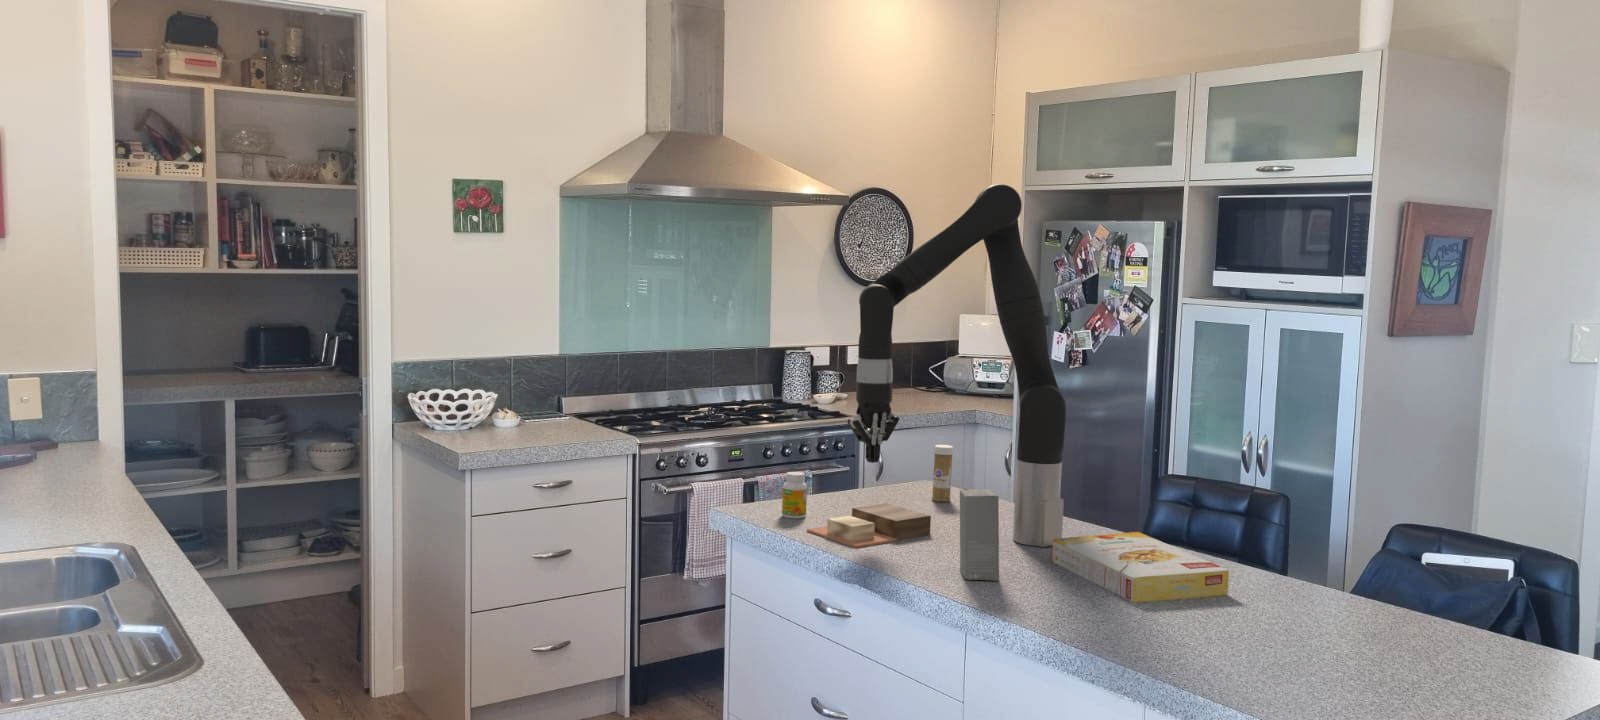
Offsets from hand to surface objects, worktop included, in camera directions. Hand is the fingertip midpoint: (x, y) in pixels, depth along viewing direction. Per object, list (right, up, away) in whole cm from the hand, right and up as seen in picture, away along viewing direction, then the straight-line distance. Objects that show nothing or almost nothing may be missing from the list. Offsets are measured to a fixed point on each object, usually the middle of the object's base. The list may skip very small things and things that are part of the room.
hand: (872, 461), depth 248 cm
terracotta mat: (-5, -15, -2) cm, 16 cm away
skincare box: (+18, -19, -28) cm, 38 cm away
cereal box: (+48, -20, -26) cm, 58 cm away
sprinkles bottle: (+19, -13, +38) cm, 44 cm away
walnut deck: (+4, -15, +5) cm, 16 cm away
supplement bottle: (-17, -14, +16) cm, 27 cm away
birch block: (-5, -14, -3) cm, 15 cm away
